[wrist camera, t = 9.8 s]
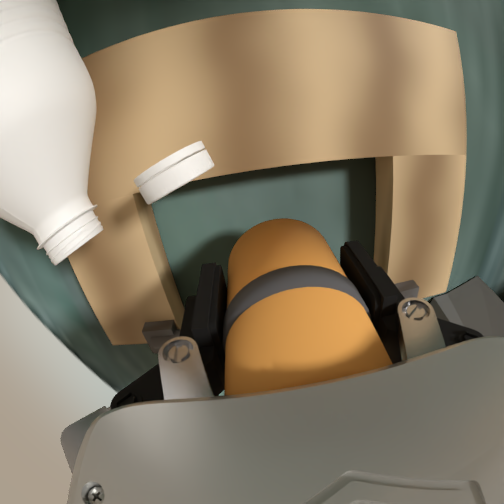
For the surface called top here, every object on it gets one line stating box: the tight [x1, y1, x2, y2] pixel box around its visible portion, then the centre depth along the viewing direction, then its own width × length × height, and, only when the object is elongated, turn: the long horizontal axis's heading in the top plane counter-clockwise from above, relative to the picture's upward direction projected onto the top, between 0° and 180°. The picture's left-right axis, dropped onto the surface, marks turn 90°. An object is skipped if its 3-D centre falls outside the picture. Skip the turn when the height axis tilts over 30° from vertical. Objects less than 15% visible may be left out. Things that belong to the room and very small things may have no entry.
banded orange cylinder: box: [222, 219, 392, 396], centre depth 10 cm, size 5×5×8 cm
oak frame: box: [68, 9, 466, 353], centre depth 13 cm, size 22×16×3 cm
